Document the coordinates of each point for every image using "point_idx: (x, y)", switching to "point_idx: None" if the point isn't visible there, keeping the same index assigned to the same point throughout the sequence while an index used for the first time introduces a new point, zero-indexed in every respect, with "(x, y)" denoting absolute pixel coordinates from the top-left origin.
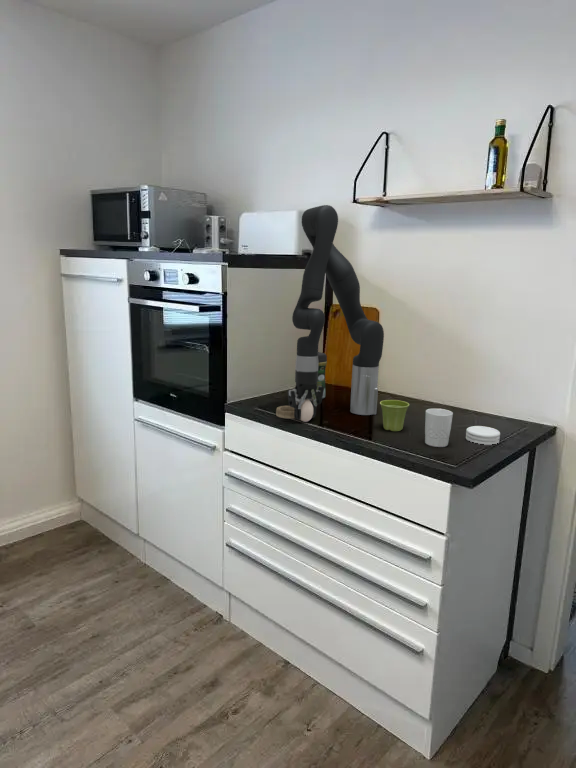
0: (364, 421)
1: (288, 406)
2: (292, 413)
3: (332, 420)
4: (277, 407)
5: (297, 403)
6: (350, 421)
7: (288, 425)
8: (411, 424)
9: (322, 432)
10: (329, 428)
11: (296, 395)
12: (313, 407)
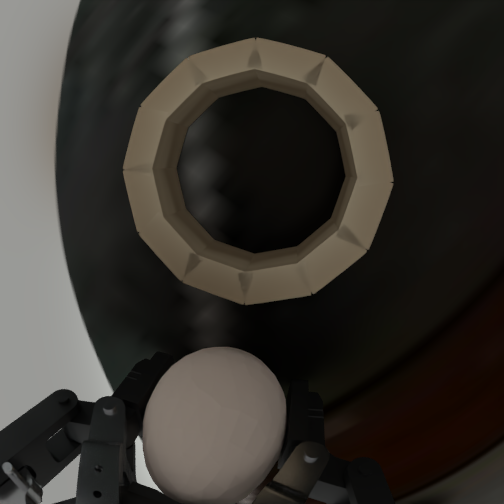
0: (441, 469)
1: (315, 88)
2: (193, 282)
3: (381, 427)
4: (189, 60)
5: (119, 436)
6: (414, 459)
7: (108, 343)
8: (466, 501)
9: None
10: None
11: (79, 479)
12: (279, 463)
